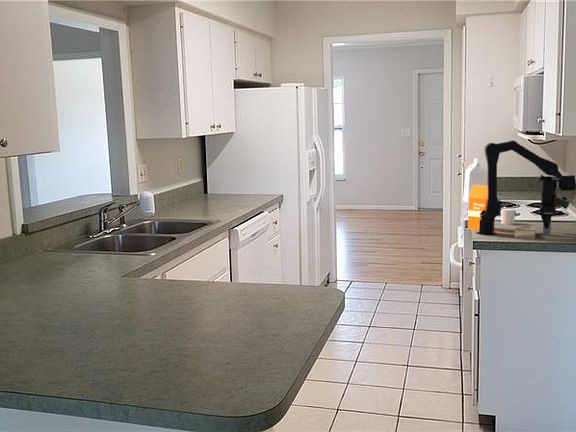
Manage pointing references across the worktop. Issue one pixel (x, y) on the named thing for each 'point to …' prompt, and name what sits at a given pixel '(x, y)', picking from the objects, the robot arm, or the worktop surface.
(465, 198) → the milk
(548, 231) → the square bit
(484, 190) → the orange juice
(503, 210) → the white cylinder
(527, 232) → the socket block
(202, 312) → the worktop surface
